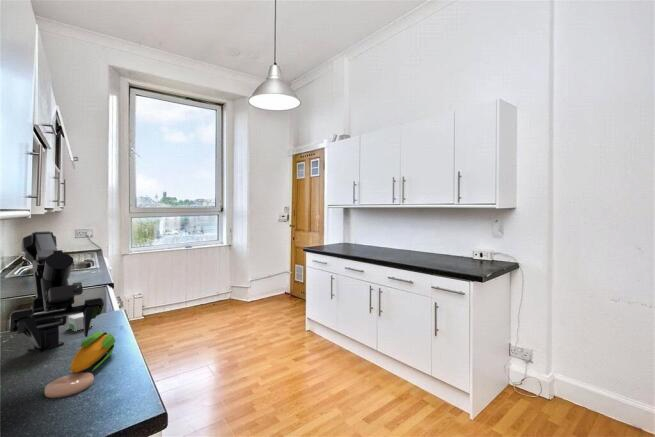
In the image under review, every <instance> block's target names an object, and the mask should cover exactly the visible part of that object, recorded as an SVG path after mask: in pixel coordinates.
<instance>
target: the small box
mask: <svg viewBox="0 0 655 437" xmlns="http://www.w3.org/2000/svg"><path fill="white" fill-rule="evenodd" d="M67 317H68V329H69V328H70V329H72V330H71V331H73V330H74V331H73V332H75V331H76V332H78V331H77V330H80V329H84V327H83V318H84V316H83V312H82V313H77V314H72V315H67ZM93 324H94V322H93V319H91V322H90V326H89V327H91V326H93ZM93 327H94V326H93ZM91 328H92V327H91ZM70 329H69V330H70ZM80 331H81V330H80Z"/></svg>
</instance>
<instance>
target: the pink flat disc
mask: <svg viewBox="0 0 655 437" xmlns="http://www.w3.org/2000/svg"><path fill="white" fill-rule="evenodd" d="M94 376H95V375H94V374H93V373H91V372H77V373H75V372H74V373H71V374H67V375H65V376H64V375H63V376H61V377H59V378H56V379H54V380H53V381H51V382H49V383H48V384H46V385H45V387H44V396H45V397H47V398H50V399H53V398H55V399H58V398H63V397H68V396H72V395H75V394H77V393H80V392H82V391H85V390H86V389H88V388H89V387H91V386H92V385H93V383H94Z"/></svg>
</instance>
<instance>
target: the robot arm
mask: <svg viewBox="0 0 655 437" xmlns="http://www.w3.org/2000/svg"><path fill="white" fill-rule="evenodd" d="M20 246H21V252H22V253H23V254H24V258H25V260H27V261H28V262H29V263H31V266H32V273H33V281H34V282H33V283H34V291H35V298H34V300H33V302H32V303H31V307H30V308H25V309H24V308H23V309H18V310H14V311H12V312H11V313H9V321H8V322H9V323H8V324H9V327H8V328H9V332H10V333H16V332H17V334H20V335H21V334H23V335H24V336H26V337H27V338H28V339H30V340H31V342H32V343H33V345H31V346H29V347H27V350H30V351H34V352H41V353H42V352H44V351H47V350H51V349H53V348H56V347H60V346H61V345H65V341H61V340H60V331H59V327H62V326H65V325H66V324H67V317H68V316H72V315H76V314H80V313H83V316H84V318H83V327H84V330H83V334H84V338H88V335H89V331H90V328H89V326H90V322H91V319H92V320H93V319H96V318H97V317H98V316H99V315H101V314H102V311H103V309H104V305H105V303H104V302H105V301H104V298H101V297H100V296H99V297H93V298H87V299H85V300H84V302H83V303H84V304H81V305H76V306H73V304H75V297H76V296H80V295H82V294H83V292H84V290H83V288H84V287H83V284H82V281H79V282H73V283H72V284H70V283H69V278H70V276H71V272H72V269H73V266H75V262H74V257H72V255H70V254H69V253H66V252H64V251H63V249H59V250H58V249H57V247H58V245H57V237H56V235H54V233H53V231H44V230H43V231H34V232H31V234H30V235H28V236H25V237H23V238H22V240H21V245H20Z"/></svg>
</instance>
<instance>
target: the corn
mask: <svg viewBox="0 0 655 437" xmlns="http://www.w3.org/2000/svg"><path fill="white" fill-rule="evenodd" d="M115 343H116V339H115V336H114V334H112V333H111V332H109V333H107V332H105V331H98V332H95V333H93V334H92V335H90V336H89V337H88V336H87V337H86V338H85V339H84V340H83V341H82V342H81V343H80V348H79V349H78V351H77V352H76V353H75V355H74V357H73V359H72V361H71V365H70V368H69V371H70V372H72V373H74V374H75V373H81V372H82V371H84V370H86V369H89V368H91V367H92V366H93V365H94V364H96V363H97V362H98V361H99V360H100V359H101V358H103V357H104V356H105V355H106V356H105V357H104V358H103V359H102V360H101V361H100V362H99V363H97V364H96V365H95V366H94V367H93V369H92V370H91V372H94V371H95V370H96V369H97V368H98V367H100V366H101V364H103V362H105V361H106V360H107V359H108V358H109V357H110V356H111V355H112V353H113V350H114V348H115ZM91 372H90V373H91Z"/></svg>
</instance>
